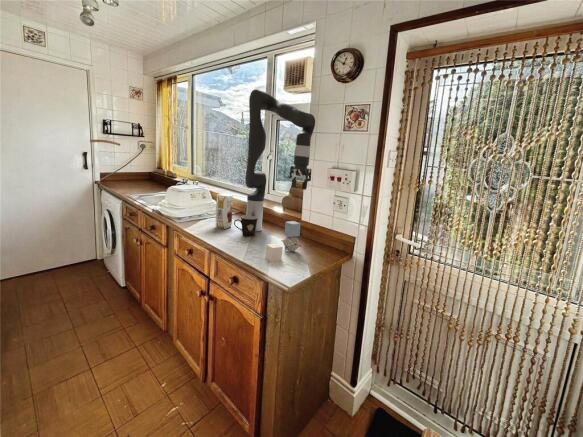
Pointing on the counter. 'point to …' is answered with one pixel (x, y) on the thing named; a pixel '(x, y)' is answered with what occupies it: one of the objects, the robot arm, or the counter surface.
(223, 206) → the juice carton
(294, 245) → the game die
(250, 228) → the coffee mug
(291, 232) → the slate block
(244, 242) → the counter surface
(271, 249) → the cream block
